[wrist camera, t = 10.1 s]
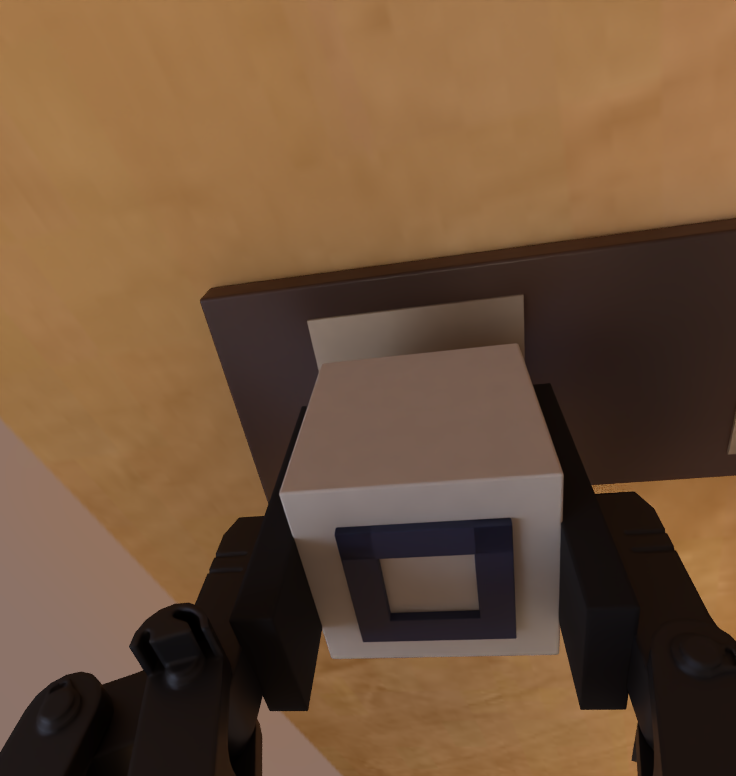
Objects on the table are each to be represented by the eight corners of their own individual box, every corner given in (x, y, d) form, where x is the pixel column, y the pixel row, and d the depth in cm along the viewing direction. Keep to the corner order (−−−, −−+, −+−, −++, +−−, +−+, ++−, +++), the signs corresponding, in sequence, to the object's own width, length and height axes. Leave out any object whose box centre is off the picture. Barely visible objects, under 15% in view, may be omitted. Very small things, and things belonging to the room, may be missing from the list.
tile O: (320, 363, 14) (275, 501, 10) (518, 341, 13) (567, 482, 9) (354, 506, 17) (329, 668, 12) (522, 495, 16) (561, 664, 11)
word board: (275, 489, 20) (267, 509, 19) (209, 287, 16) (196, 301, 15) (1022, 435, 17) (1057, 457, 16) (1173, 159, 13) (1233, 166, 12)
